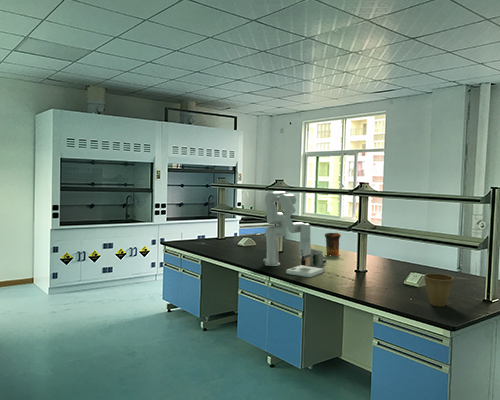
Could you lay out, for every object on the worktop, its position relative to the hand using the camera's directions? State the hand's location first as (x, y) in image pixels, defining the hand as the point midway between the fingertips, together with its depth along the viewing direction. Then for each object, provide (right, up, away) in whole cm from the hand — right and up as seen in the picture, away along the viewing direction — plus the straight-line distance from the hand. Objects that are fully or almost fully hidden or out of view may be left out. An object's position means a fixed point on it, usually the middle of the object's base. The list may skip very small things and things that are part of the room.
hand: (305, 264), depth 314 cm
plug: (0, -1, 0) cm, 1 cm away
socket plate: (0, -7, 0) cm, 7 cm away
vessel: (+34, -3, +73) cm, 80 cm away
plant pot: (+64, -11, -78) cm, 101 cm away
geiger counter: (+12, -6, +24) cm, 27 cm away
